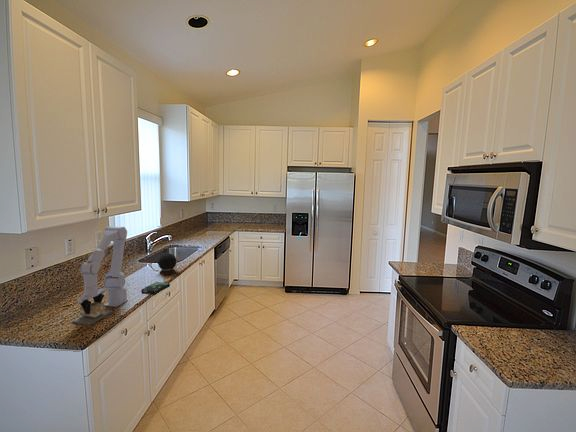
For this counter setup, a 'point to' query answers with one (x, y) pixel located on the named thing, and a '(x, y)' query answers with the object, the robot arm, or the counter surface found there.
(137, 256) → the counter surface
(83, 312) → the hollow block
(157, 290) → the disk drive
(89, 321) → the pin board
